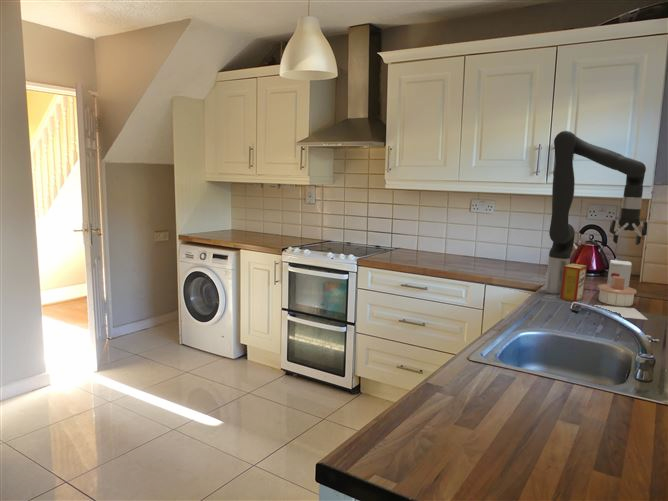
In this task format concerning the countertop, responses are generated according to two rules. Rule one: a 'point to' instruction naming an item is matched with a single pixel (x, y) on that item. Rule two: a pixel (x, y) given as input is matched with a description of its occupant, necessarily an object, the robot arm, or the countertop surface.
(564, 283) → the baking soda box
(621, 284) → the lid
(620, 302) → the bowl
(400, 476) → the countertop surface
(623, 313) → the mat
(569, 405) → the countertop surface
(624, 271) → the supplement box
